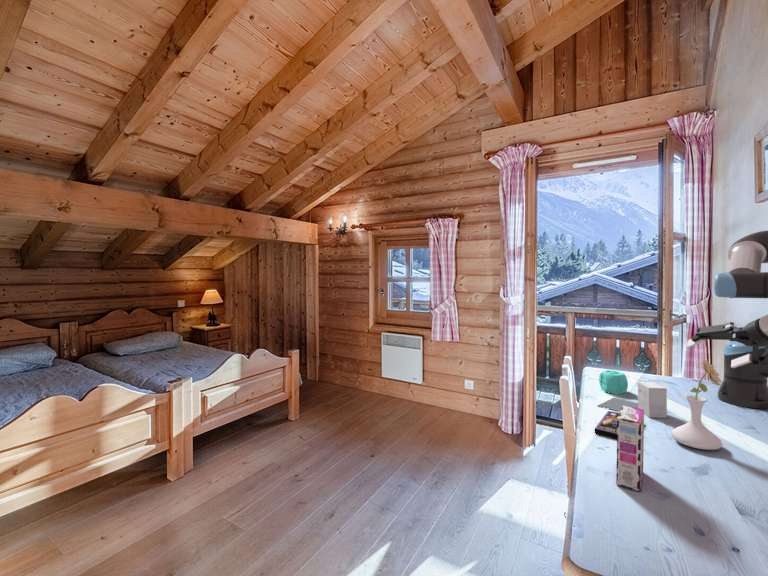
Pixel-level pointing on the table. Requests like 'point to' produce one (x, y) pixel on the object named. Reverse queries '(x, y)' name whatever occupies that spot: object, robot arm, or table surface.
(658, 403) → the small box
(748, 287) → the robot arm
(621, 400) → the grey mat
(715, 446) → the flower in vase
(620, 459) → the candy bar box
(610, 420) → the vhs tape
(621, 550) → the table surface
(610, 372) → the decorative dice
